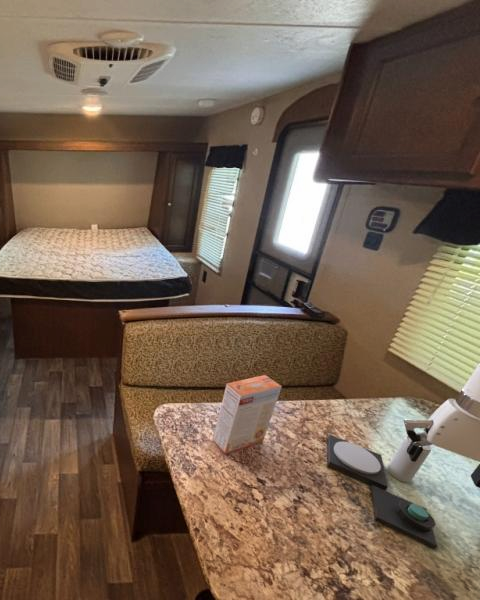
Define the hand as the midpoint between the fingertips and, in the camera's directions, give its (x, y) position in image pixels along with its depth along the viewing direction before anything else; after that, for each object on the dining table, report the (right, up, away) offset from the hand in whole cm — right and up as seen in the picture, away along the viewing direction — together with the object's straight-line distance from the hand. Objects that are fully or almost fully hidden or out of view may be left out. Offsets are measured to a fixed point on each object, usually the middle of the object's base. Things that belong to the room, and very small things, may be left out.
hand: (442, 469), depth 68 cm
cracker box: (-31, -6, +26) cm, 41 cm away
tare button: (-1, -13, +5) cm, 14 cm away
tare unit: (-2, -15, +7) cm, 17 cm away
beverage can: (+8, -11, +17) cm, 22 cm away
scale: (-2, -9, +20) cm, 22 cm away
